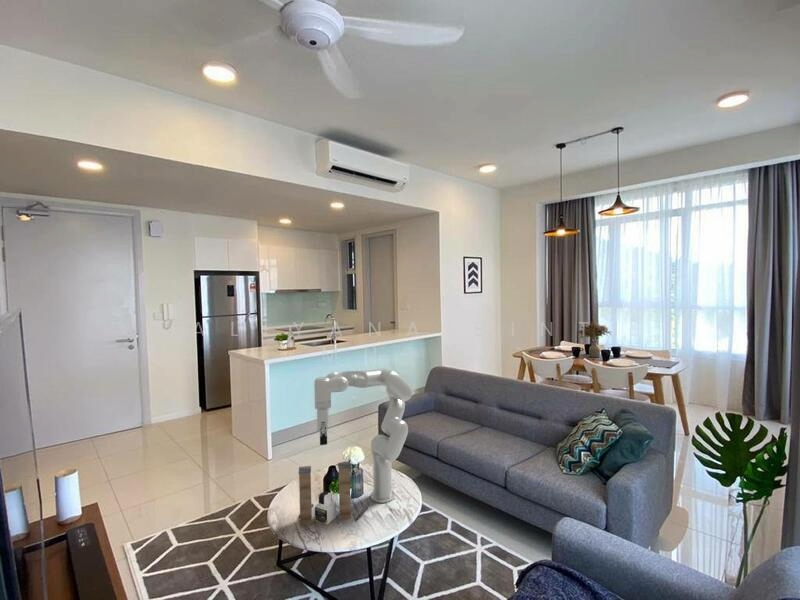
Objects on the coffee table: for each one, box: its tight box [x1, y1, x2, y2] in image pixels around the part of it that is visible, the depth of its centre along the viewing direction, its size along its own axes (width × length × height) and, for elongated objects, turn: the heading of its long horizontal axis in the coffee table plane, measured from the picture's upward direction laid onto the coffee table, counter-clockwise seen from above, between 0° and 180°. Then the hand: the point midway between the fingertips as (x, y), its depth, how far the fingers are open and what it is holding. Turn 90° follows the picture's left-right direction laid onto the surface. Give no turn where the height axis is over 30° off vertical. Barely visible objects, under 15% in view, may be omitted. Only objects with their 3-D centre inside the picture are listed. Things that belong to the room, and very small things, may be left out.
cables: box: [298, 503, 368, 521], centre depth 184 cm, size 11×31×1 cm, turn 85°
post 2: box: [337, 461, 352, 521], centre depth 181 cm, size 5×5×25 cm
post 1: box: [298, 465, 313, 526], centre depth 177 cm, size 5×5×25 cm
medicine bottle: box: [314, 491, 337, 526], centre depth 179 cm, size 7×7×12 cm
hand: (323, 440), depth 178 cm, fingers open, 9 cm apart
